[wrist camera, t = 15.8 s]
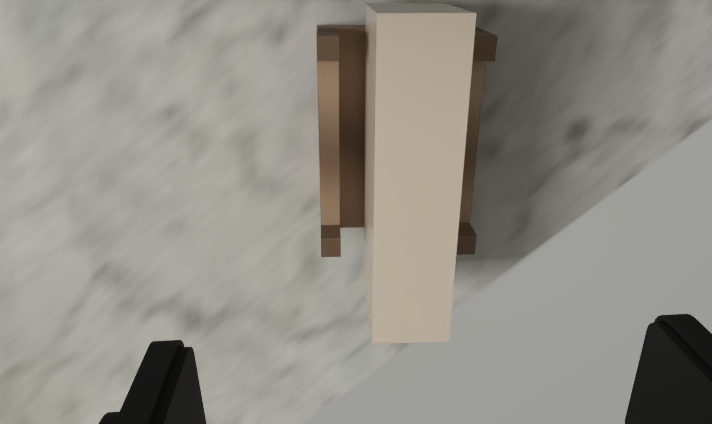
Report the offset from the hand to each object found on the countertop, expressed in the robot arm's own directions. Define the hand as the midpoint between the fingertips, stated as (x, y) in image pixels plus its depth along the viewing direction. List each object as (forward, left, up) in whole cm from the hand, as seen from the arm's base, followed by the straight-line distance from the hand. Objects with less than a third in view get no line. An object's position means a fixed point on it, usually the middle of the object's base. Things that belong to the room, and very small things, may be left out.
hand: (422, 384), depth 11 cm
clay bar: (+1, +2, -17) cm, 18 cm away
